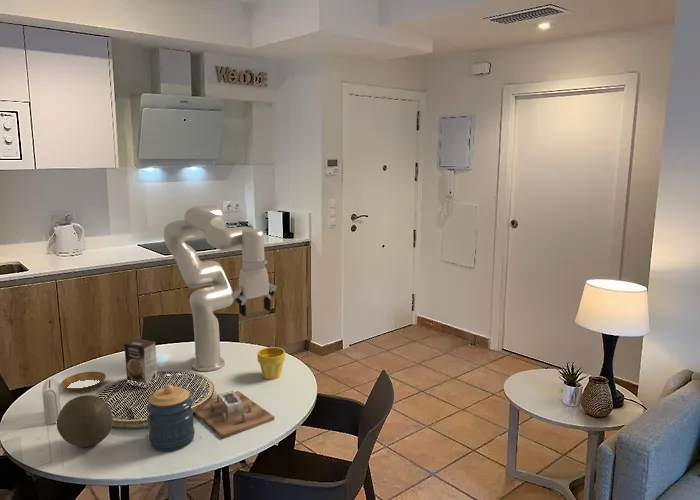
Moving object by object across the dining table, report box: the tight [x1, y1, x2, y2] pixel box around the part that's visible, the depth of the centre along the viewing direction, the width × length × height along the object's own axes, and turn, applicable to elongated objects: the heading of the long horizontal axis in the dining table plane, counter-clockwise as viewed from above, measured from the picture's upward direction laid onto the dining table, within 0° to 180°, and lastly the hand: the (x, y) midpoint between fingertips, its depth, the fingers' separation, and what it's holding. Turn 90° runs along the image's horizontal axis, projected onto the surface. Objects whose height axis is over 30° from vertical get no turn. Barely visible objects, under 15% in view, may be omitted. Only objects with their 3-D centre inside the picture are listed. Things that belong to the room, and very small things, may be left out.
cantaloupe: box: [56, 394, 114, 448], centre depth 156 cm, size 14×14×15 cm
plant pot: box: [257, 346, 286, 380], centre depth 204 cm, size 10×10×10 cm
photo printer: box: [41, 378, 62, 425], centre depth 173 cm, size 10×4×12 cm, turn 26°
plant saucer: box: [60, 371, 107, 393], centre depth 197 cm, size 15×15×3 cm
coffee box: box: [123, 338, 158, 383], centre depth 197 cm, size 9×6×16 cm
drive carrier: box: [218, 390, 243, 420], centre depth 175 cm, size 10×5×5 cm, turn 30°
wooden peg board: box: [195, 390, 276, 439], centre depth 176 cm, size 24×18×4 cm
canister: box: [146, 384, 196, 452], centre depth 159 cm, size 13×13×18 cm
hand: (255, 312), depth 190 cm, fingers open, 9 cm apart
